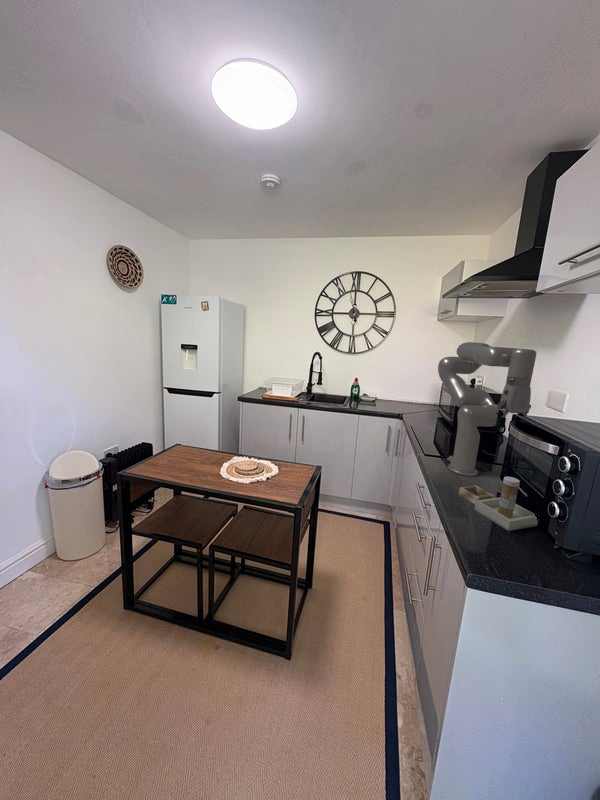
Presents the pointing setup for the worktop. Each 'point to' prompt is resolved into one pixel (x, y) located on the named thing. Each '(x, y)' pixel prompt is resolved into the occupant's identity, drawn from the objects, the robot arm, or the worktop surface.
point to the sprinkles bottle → (508, 496)
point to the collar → (471, 490)
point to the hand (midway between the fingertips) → (509, 426)
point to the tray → (518, 520)
